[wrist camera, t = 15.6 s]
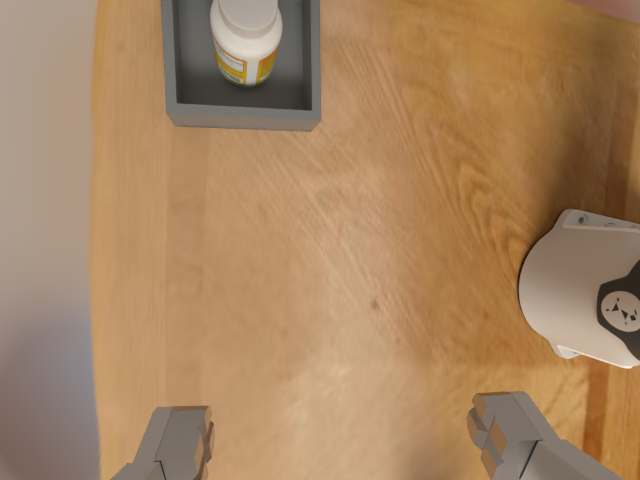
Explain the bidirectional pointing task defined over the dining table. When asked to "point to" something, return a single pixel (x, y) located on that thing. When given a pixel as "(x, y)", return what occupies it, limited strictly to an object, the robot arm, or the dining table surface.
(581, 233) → the robot arm
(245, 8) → the supplement bottle
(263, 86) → the box
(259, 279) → the dining table surface
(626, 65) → the dining table surface
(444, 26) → the dining table surface
